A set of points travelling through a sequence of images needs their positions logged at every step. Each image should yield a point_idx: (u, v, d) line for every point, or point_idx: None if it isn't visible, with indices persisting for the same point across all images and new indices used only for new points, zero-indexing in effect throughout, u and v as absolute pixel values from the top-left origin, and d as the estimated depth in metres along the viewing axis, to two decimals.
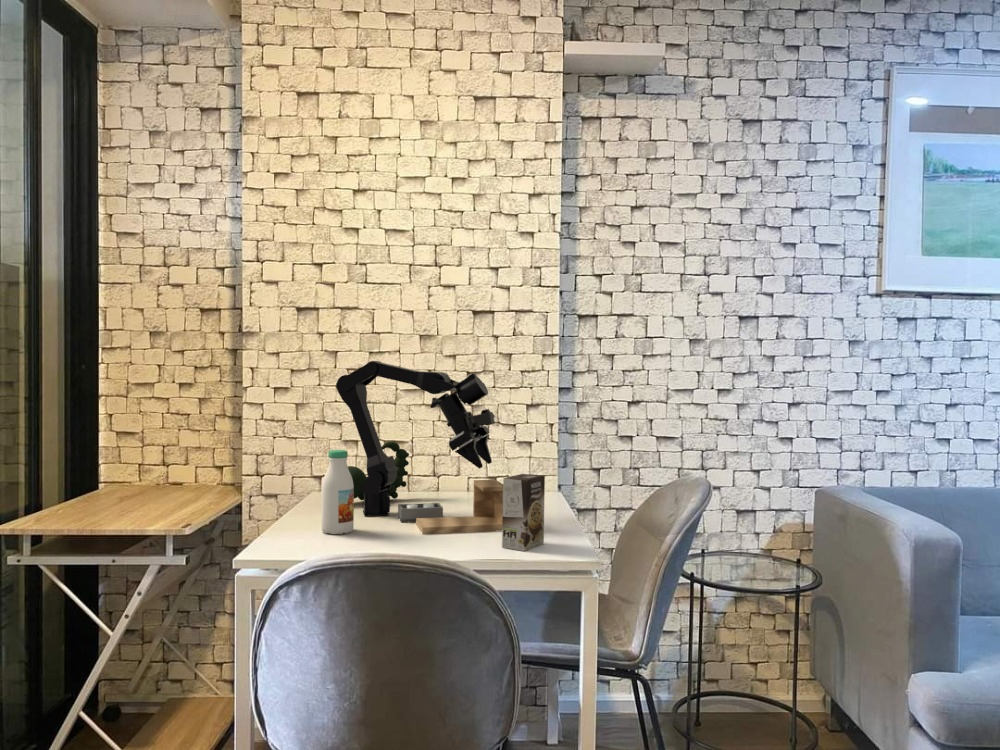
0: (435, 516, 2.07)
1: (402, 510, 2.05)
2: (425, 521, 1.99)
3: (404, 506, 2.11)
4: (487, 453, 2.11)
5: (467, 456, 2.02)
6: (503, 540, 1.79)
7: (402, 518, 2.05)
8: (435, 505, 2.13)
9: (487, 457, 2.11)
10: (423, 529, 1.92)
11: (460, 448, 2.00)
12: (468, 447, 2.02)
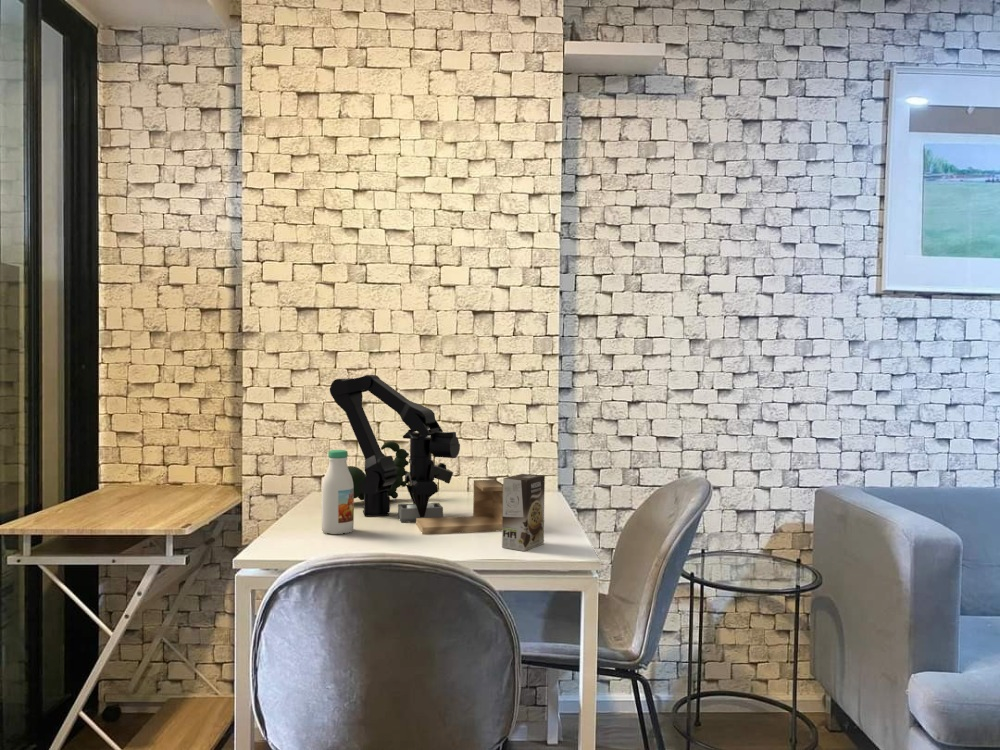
0: (435, 516, 2.07)
1: (402, 510, 2.05)
2: (425, 521, 1.99)
3: (404, 506, 2.11)
4: None
5: (418, 502, 2.04)
6: (503, 540, 1.79)
7: (402, 518, 2.05)
8: (435, 505, 2.13)
9: None
10: (423, 529, 1.92)
11: (420, 493, 2.02)
12: (423, 494, 2.05)
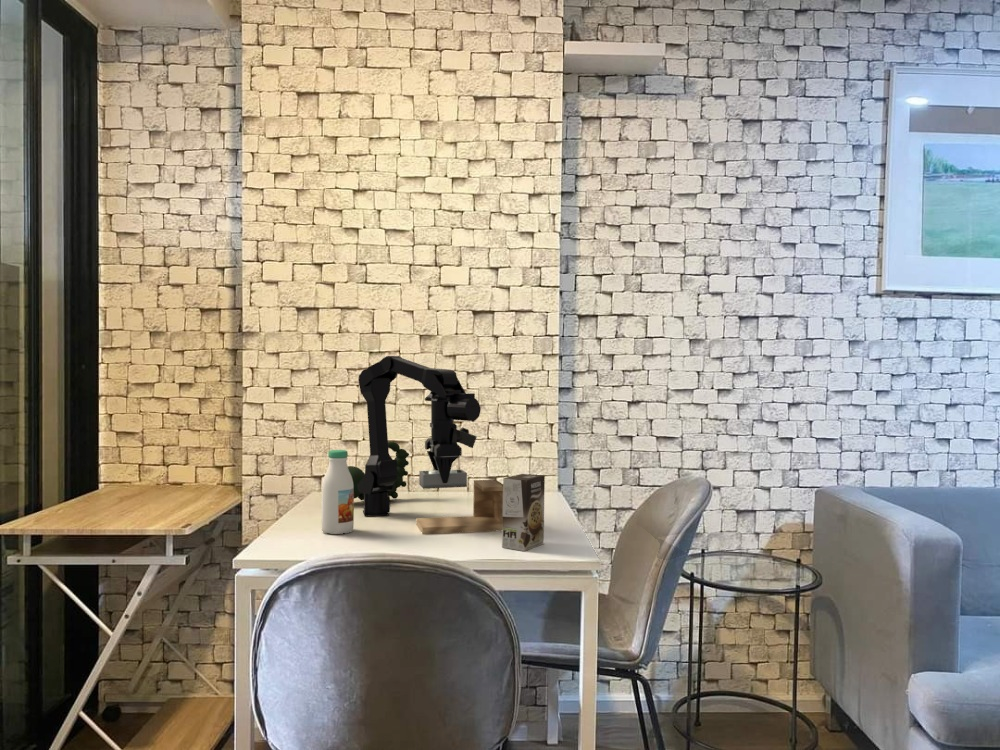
0: (459, 482, 1.97)
1: (424, 476, 1.95)
2: (425, 521, 1.99)
3: (425, 473, 2.01)
4: None
5: (441, 466, 1.94)
6: (503, 540, 1.79)
7: (424, 484, 1.95)
8: (458, 472, 2.03)
9: None
10: (423, 529, 1.92)
11: (443, 457, 1.92)
12: (446, 459, 1.94)
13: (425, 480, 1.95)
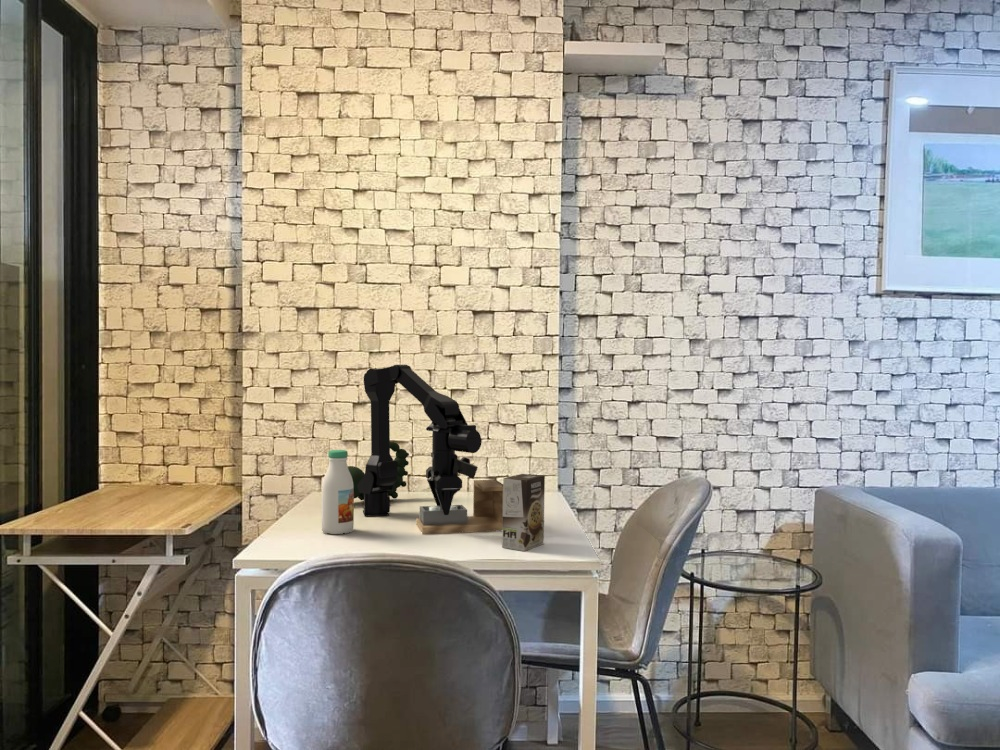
0: (459, 519, 1.96)
1: (424, 512, 1.94)
2: None
3: (426, 508, 2.00)
4: None
5: (442, 499, 1.92)
6: (503, 540, 1.79)
7: (424, 521, 1.94)
8: (458, 507, 2.02)
9: None
10: (423, 529, 1.92)
11: (444, 490, 1.90)
12: (447, 491, 1.93)
13: (425, 517, 1.94)
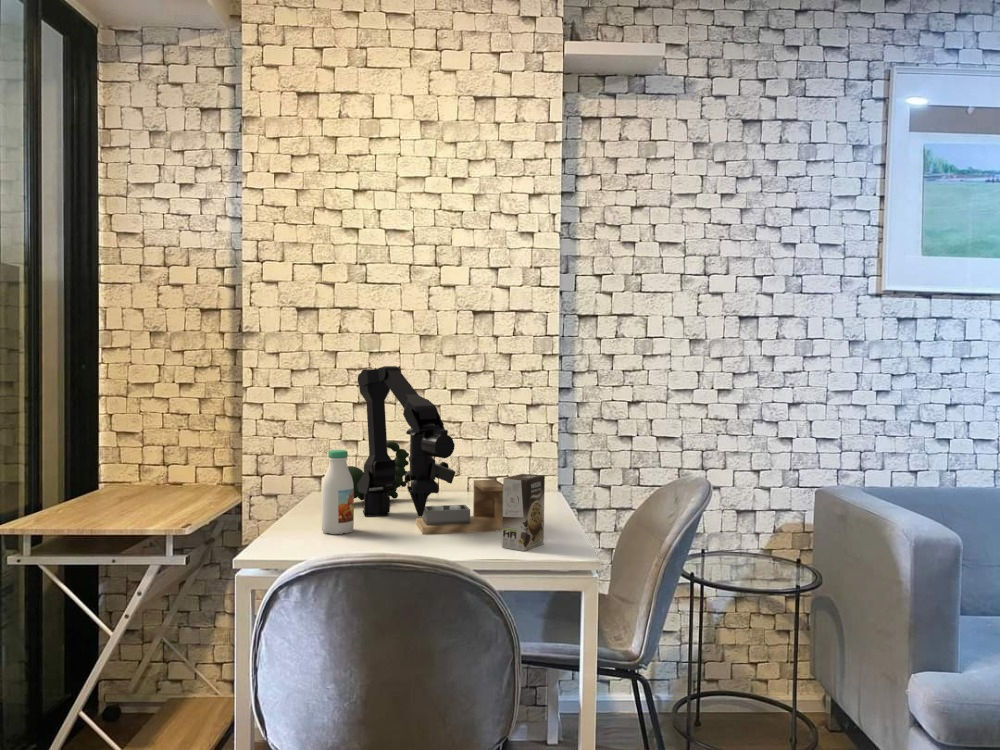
0: (462, 519, 1.96)
1: (427, 512, 1.94)
2: None
3: (429, 508, 2.00)
4: None
5: (416, 500, 1.95)
6: (503, 540, 1.79)
7: (427, 521, 1.94)
8: (461, 507, 2.02)
9: None
10: (423, 529, 1.92)
11: None
12: (422, 492, 1.96)
13: (428, 517, 1.94)
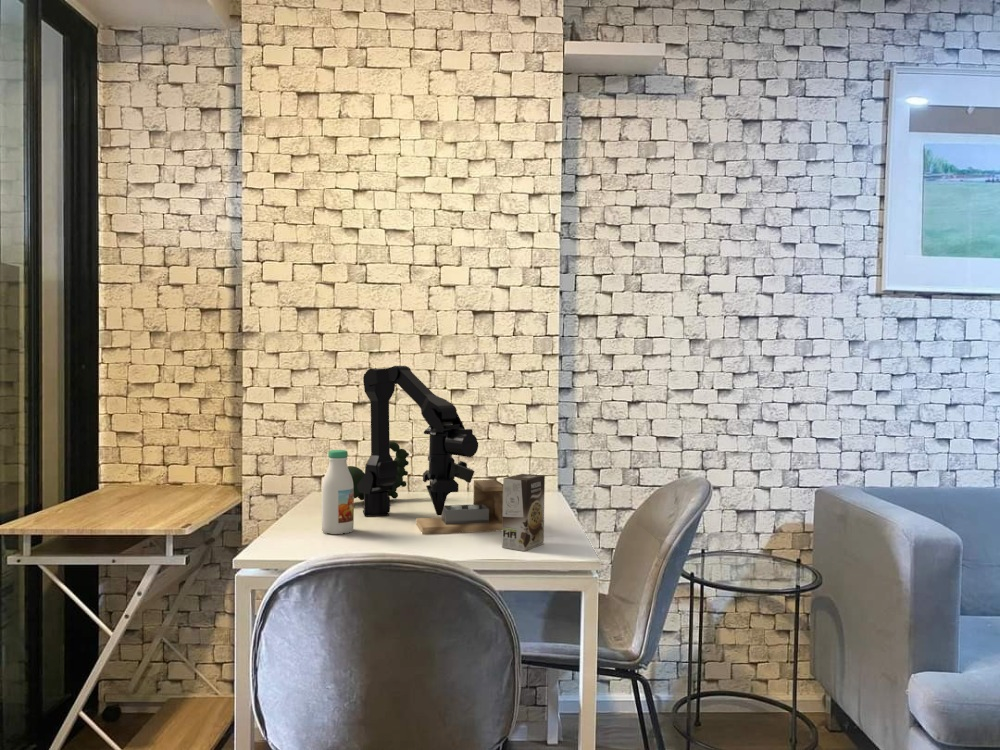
0: (481, 518, 1.98)
1: (447, 512, 1.95)
2: (425, 521, 1.99)
3: (448, 507, 2.02)
4: None
5: (435, 499, 1.96)
6: (503, 540, 1.79)
7: (447, 520, 1.96)
8: (480, 506, 2.03)
9: None
10: (423, 529, 1.92)
11: None
12: (441, 491, 1.97)
13: (447, 516, 1.96)
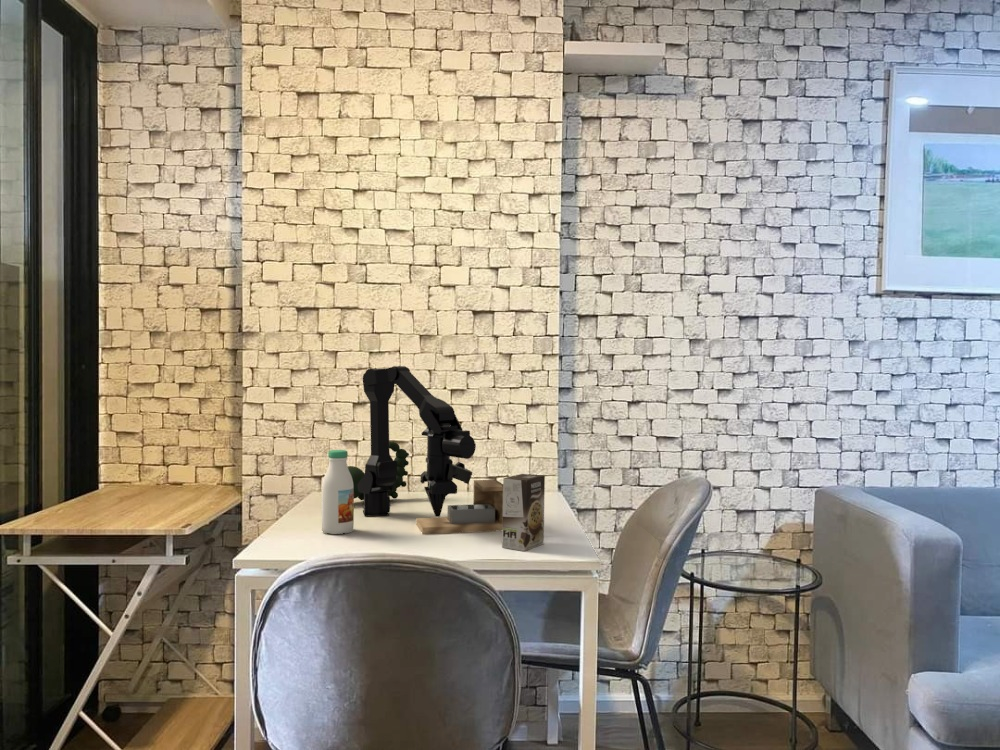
0: (487, 518, 1.98)
1: (453, 511, 1.96)
2: (425, 521, 1.99)
3: (454, 507, 2.02)
4: None
5: (434, 500, 1.96)
6: (503, 540, 1.79)
7: (453, 520, 1.96)
8: (486, 506, 2.04)
9: None
10: (423, 529, 1.92)
11: None
12: None
13: (454, 516, 1.96)
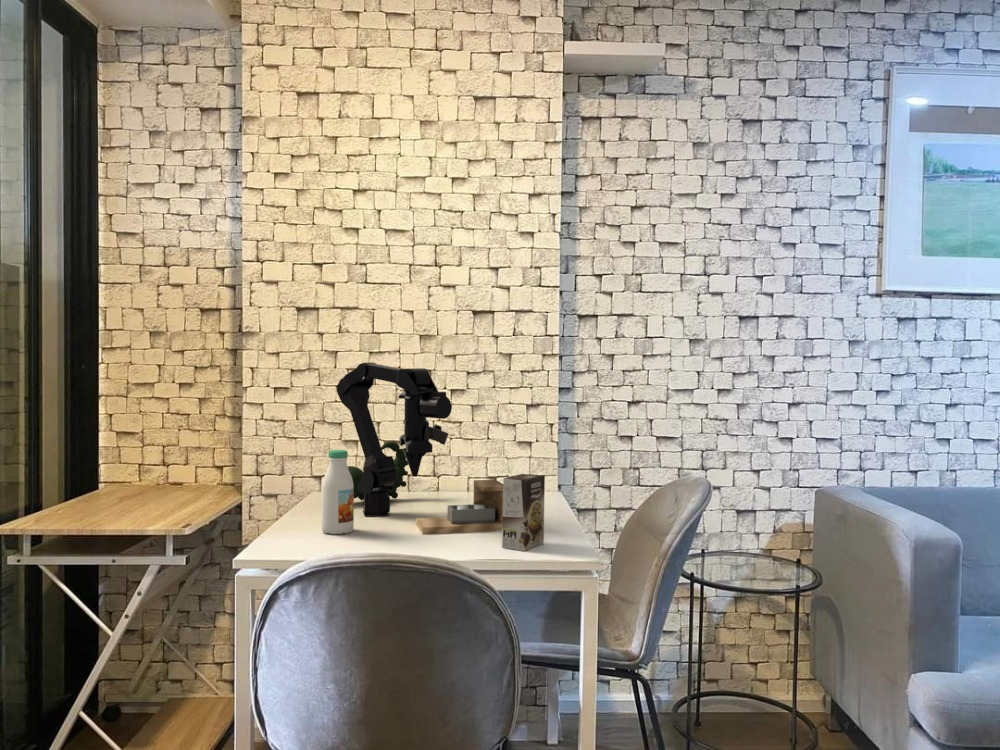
0: (487, 518, 1.98)
1: (453, 511, 1.96)
2: (425, 521, 1.99)
3: (454, 507, 2.02)
4: None
5: (411, 461, 2.03)
6: (503, 540, 1.79)
7: (453, 520, 1.96)
8: (486, 506, 2.04)
9: None
10: (423, 529, 1.92)
11: None
12: (416, 453, 2.04)
13: (454, 516, 1.96)
